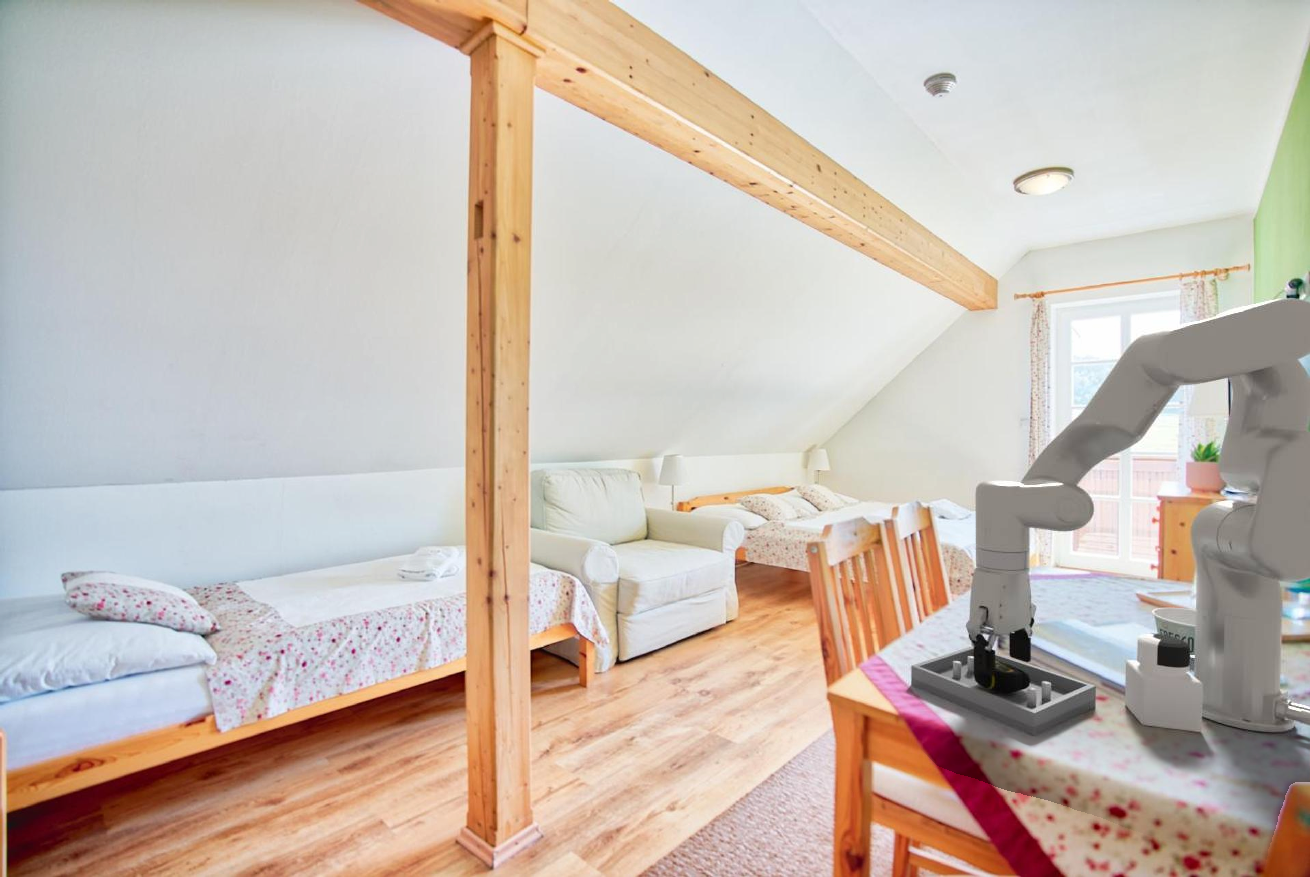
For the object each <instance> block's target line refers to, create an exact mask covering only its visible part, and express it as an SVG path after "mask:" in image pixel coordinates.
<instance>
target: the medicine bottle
mask: <svg viewBox="0 0 1310 877" xmlns="http://www.w3.org/2000/svg"><path fill="white" fill-rule="evenodd" d="M1190 660H1191V658H1190V646H1189V645H1188V644H1187V643H1186V642H1184V641H1182V640H1180V639H1178V638H1176V637H1173V636H1169V635H1163V634H1158V633H1145V634H1144V633H1143V634H1141V635H1139V636H1138V637H1137V654H1136V660H1134V659H1127V660H1126V661H1125V682H1124V684H1125V688H1124V690H1125V691H1124V704H1125V706H1126V707H1127V709H1128V710H1130V712H1131V713H1132V714H1133V715H1134V716H1135V718H1136V719H1137V720H1138V721H1139V722H1140V724H1141V725H1143V726H1147V727H1156V728H1162V729H1170V730H1179V731H1186V732H1188V731H1189V732H1196V733H1201V732H1202V731H1203V717H1202V703H1203V684H1202V683H1201V682H1200V681H1199V680H1198V679H1196V678H1195V677H1194V674H1192V673H1191V672H1190V668H1191V667H1190V666H1191V664H1190Z"/></svg>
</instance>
